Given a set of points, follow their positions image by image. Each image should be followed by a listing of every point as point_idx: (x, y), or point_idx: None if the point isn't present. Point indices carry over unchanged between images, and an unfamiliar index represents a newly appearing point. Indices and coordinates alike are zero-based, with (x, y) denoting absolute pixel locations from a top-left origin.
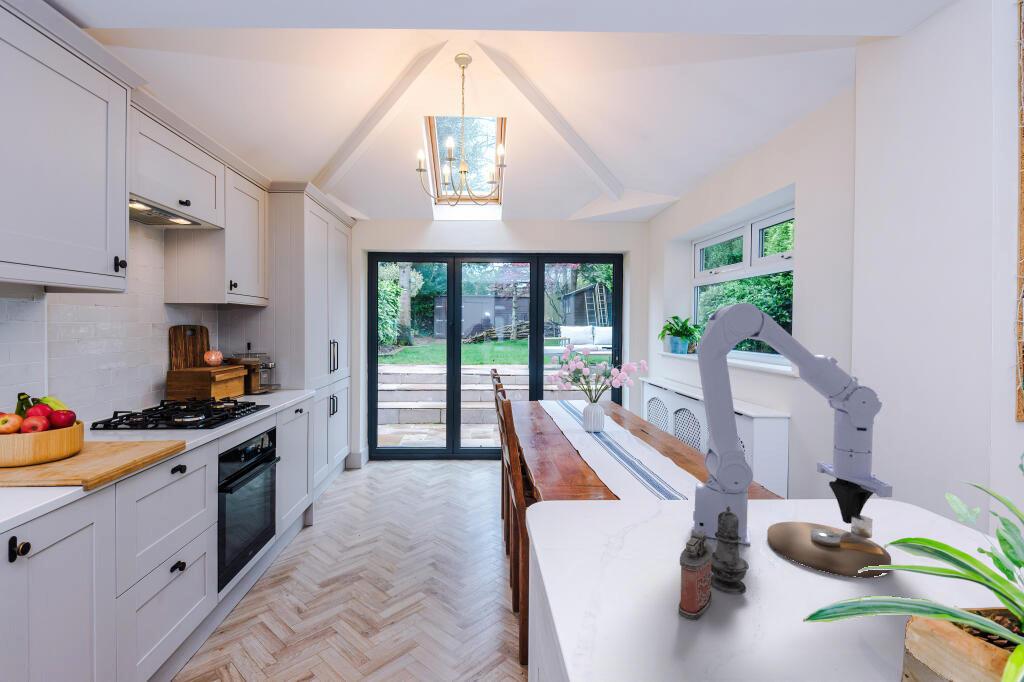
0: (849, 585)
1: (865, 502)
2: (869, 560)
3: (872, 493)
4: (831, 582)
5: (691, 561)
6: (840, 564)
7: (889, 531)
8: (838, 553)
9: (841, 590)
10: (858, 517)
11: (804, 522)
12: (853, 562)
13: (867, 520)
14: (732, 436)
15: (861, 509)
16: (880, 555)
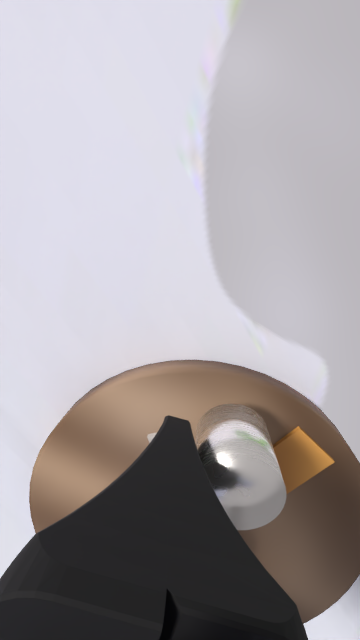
0: (342, 608)
1: (227, 518)
2: (330, 529)
3: (288, 607)
4: (314, 625)
5: None
6: (306, 610)
7: (146, 84)
8: (261, 561)
9: (345, 637)
10: (227, 501)
11: (44, 446)
12: (316, 576)
13: (272, 501)
14: None
15: (203, 472)
16: (327, 468)
